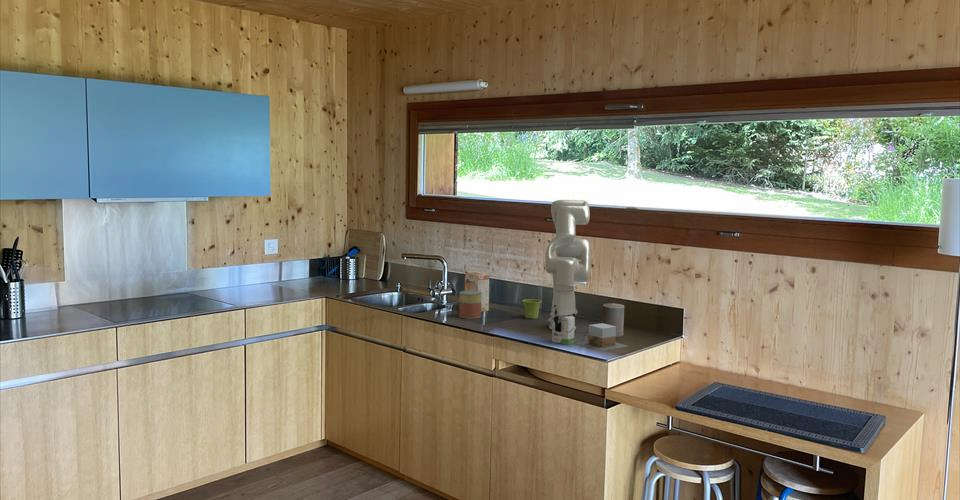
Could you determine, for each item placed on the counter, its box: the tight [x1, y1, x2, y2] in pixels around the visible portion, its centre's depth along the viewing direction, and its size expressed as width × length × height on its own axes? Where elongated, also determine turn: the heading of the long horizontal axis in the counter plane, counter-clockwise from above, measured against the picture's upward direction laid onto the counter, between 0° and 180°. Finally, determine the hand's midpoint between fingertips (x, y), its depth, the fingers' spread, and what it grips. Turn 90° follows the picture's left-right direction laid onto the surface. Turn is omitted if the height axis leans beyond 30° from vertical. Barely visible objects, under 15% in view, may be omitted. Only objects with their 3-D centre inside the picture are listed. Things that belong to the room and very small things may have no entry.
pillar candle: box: [601, 302, 625, 338], centre depth 323 cm, size 10×10×15 cm
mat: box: [575, 340, 628, 352], centre depth 305 cm, size 16×16×1 cm
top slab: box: [588, 322, 616, 338], centre depth 304 cm, size 8×8×4 cm
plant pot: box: [522, 298, 542, 320], centre depth 360 cm, size 9×9×9 cm
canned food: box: [458, 290, 482, 320], centre depth 360 cm, size 11×11×12 cm
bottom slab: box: [587, 334, 617, 348], centre depth 305 cm, size 8×8×4 cm
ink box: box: [551, 315, 576, 346], centre depth 307 cm, size 8×5×12 cm, turn 46°
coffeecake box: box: [464, 269, 490, 313], centre depth 380 cm, size 15×7×20 cm, turn 28°
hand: (563, 330), depth 307 cm, fingers closed on ink box, 5 cm apart
